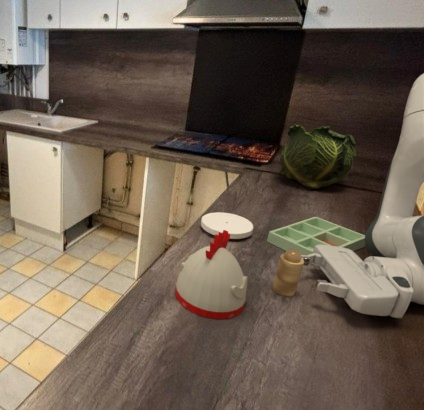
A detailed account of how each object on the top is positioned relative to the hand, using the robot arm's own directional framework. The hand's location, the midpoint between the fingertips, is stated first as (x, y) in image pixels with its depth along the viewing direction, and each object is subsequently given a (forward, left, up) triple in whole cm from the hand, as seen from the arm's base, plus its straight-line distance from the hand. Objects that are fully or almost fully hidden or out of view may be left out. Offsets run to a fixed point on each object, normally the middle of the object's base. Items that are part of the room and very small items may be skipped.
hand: (307, 271), depth 75 cm
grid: (+11, -23, -5) cm, 26 cm away
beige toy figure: (+2, +3, -5) cm, 6 cm away
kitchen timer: (+8, +19, -5) cm, 21 cm away
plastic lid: (+28, -8, -5) cm, 30 cm away
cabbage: (+41, -68, -5) cm, 80 cm away
